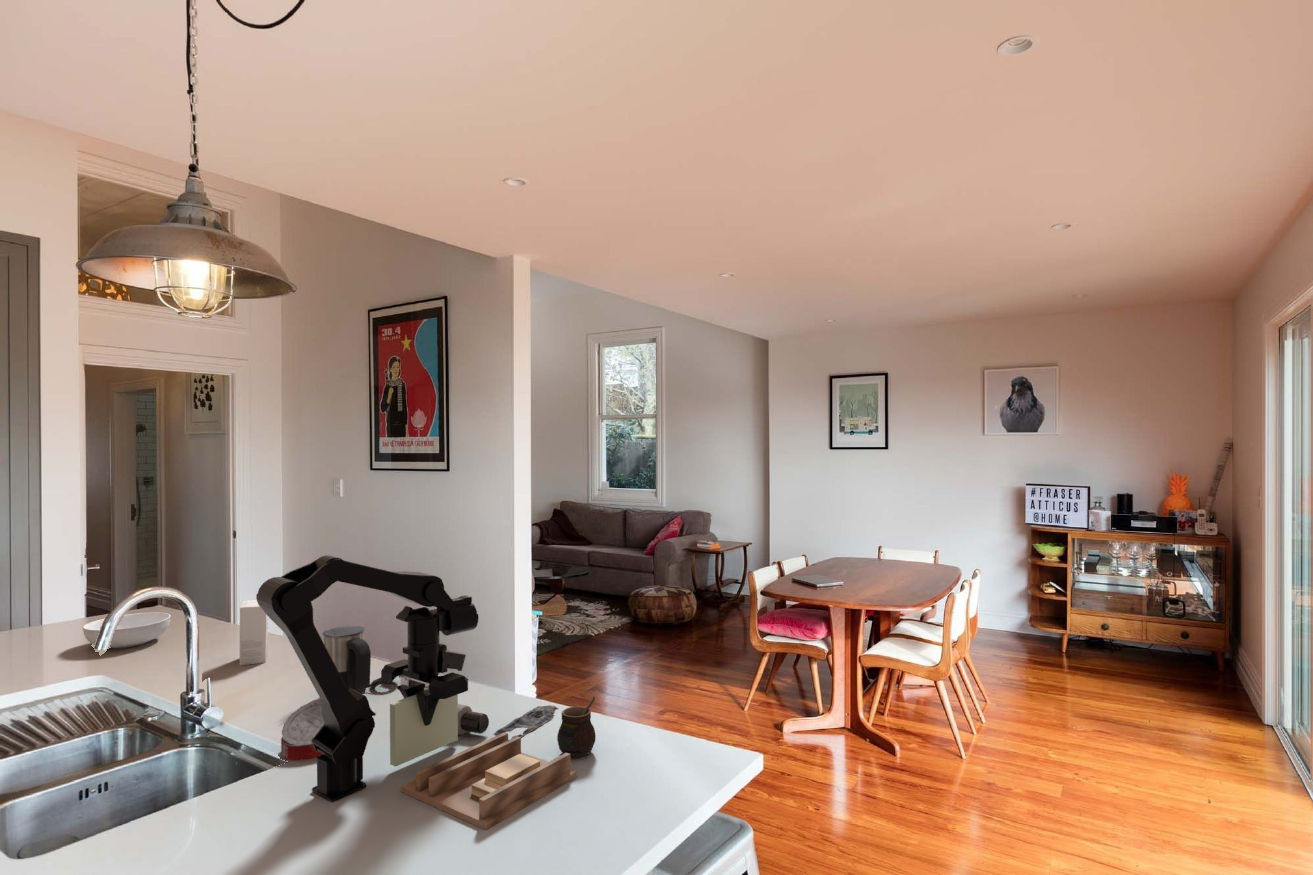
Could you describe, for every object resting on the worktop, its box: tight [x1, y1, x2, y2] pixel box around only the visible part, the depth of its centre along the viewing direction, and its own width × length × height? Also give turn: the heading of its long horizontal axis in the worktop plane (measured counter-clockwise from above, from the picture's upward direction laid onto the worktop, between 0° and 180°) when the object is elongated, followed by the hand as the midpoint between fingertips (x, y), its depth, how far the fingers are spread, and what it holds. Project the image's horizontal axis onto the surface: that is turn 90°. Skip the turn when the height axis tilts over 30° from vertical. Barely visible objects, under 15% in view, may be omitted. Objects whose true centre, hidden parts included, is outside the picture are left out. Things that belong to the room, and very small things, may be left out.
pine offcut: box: [472, 778, 502, 798], centre depth 125 cm, size 11×6×2 cm, turn 145°
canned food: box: [280, 698, 325, 762], centre depth 142 cm, size 11×10×10 cm
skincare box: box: [239, 599, 269, 667], centre depth 198 cm, size 8×7×16 cm
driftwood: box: [492, 705, 559, 740], centre depth 153 cm, size 21×7×2 cm, turn 153°
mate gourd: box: [556, 696, 596, 759], centre depth 140 cm, size 7×8×10 cm
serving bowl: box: [82, 611, 172, 649], centre depth 215 cm, size 21×21×7 cm
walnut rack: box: [400, 732, 577, 831], centre depth 127 cm, size 21×21×4 cm
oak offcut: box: [485, 754, 540, 786], centre depth 126 cm, size 8×5×2 cm, turn 145°
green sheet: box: [389, 694, 459, 767], centre depth 138 cm, size 14×2×11 cm, turn 145°
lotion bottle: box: [402, 697, 490, 736], centre depth 151 cm, size 6×6×20 cm
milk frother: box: [321, 625, 398, 694], centre depth 175 cm, size 14×16×15 cm
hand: (424, 723), depth 138 cm, fingers closed
